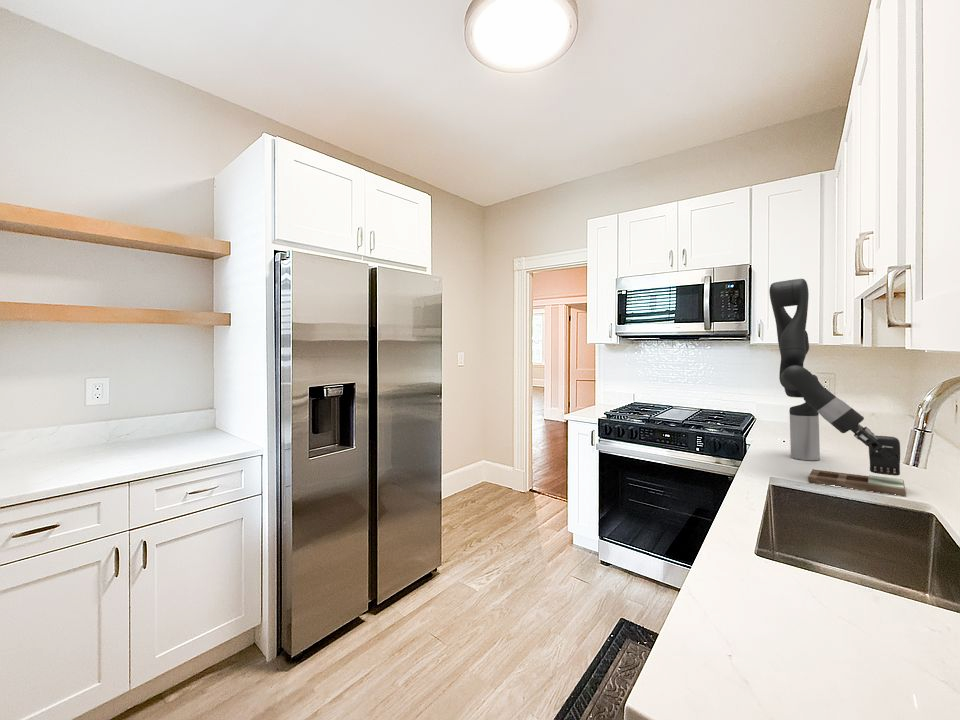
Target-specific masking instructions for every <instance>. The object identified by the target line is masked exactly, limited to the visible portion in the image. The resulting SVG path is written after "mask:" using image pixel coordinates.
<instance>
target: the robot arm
mask: <svg viewBox="0 0 960 720" xmlns="http://www.w3.org/2000/svg"><path fill="white" fill-rule="evenodd" d="M768 294H769V299H770V304H771V307H772V312H773V316H774V319H775V326H776V336H777V344H778V348H779V353H780V364H779V375H778V376H779V378H778V379H779V383H780V384H781V386H782V388H784V392H785V395H786V396H787V397H790V398H800V399H803V400H804V402H803V403H802V404H797V405H794V406H790V408H789V412H788V413H789V437H790V438H789V439H790V440H789V441H790V443H789V444H790V458H792V459H795V460H800V461H801V460H802V461H811V462H813V461H820V460H821V453H820V452H821V451H820V449H821V448H820V446H821V445H820V418H819V415H820V416H821V417H822V418H823V420H825V421H827V422H828V423H829V424H830V425H831V426H832V427H834V428H835V429H836V430H837V431H838V432H840V433H841V434H845V433H847V432H849V431H851V432H853V436H854V437H855V438H856V439H857V440H859V441H861V443H863V444H864V445H865V446H866V447H868V448H869V447H870V448H871V449H872V450H873V451H875V452H878V453H880V454H881V455H882V456H883V457H884V458H886V459H887V460H888V461H890V462H892V461H893V460H895V459H896V458H897V457H896V456H895V455H894V454H893V453H891V452H890V451H889V450H888V449H886V448H885V447H884V445H882V444H881V443H880V442H878V440H879V439H878V438H877V437H875V436H874V435H876V434H875V433H874V432H872V430H871V429H870V428H869V427H867V426H864V427H863V426H862V425H861V424H860V423H862V422H863V421H864V420H865V417H864V415H861V413H859V412H857V410H855V409H854V408H853V407H852V406H850V405H849V404H847V402H845V401H844V400H842V399H840V398H839V397H837V396H836V395H835V394H833V392H831V391H830V390H828V389H827V388H825V387H824V386H823V385H822V384H821V382H820V381H819V379H818V378H819V377H818V376H817V375H816V374H813V373H812V372H811V371H809V370H808V369H807V368H805V367H804V361H805V359H806V356H807V355H808V352H809V351H810V342H809V334H808V332H807V330H806V328H807V320H808V312H809V311H808V309H809V297H810V296H809V286H808V282H807V280H806V279H805V278H795V279H789V280H788V279H787V280H783V281H782V280H781V281H777V282H773V283H771V284H770V286H769V293H768ZM794 306H796V309H795V310H796V311H795V313H794V315H793V317H791V315H790V314H789V313H788V312H787V310H786V309H785V307H794ZM873 438H874V439H873ZM874 443H876V444H877V445H876V446H874V447H873V446H872V444H874Z"/></svg>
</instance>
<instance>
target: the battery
mask: <svg viewBox="0 0 960 720" xmlns="http://www.w3.org/2000/svg"><path fill="white" fill-rule="evenodd" d="M874 436H875V437H877V438H878V439H879V440H878V442H880V443H881V444H882V445H884V447H885V448H886V449H888V450H889V451H890V452H891V453H893V454H894V455H895V456H896V457H897V458H896V459H895V460H893V461H892V462H890V461H888V460H887V459H886V458H884V457H883V456H882V455H881V454H880V453H878V452H875V451H873V450H872V449H871V448H870V447H868V456H869V457H868V459H869V472H871V473H872V474H879V475H886V476H896V477H897V476H900V475H901V440H899V438H897V436H891V435H883V434H882V435H879V434H875V435H874ZM873 439H874V438H873ZM876 445H877V444H876V443H874V444H872V446H873V447H874V446H876Z"/></svg>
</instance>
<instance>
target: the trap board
mask: <svg viewBox="0 0 960 720" xmlns="http://www.w3.org/2000/svg"><path fill="white" fill-rule="evenodd" d="M807 480H808V481H807V482H809V483H808V484H812V483H815V484H814V485H819V484H825V485H824V486H826V485H835V486H841V487H847V488H846V489H848V488H853V489H852V490H855V489H858V490H857V491H862V490H865V491H864V492H869V491H873V492H872V493H876V492H880V493H879V494H883V493H889V494H888V495H890V494H896V495H895V496H897V495H901V496H900V497H904V496H905V497H906V486H905V481H904V479H902V478H897V477H896V478H894V477H886V476H878V475H870V474H869V475H862V474H854V473H848V472H847V473H846V472H838V471H831V470H830V471H829V470H821V469H814V468H813V469H812V470H811V471H810V473H809V475H808V476H807Z"/></svg>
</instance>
